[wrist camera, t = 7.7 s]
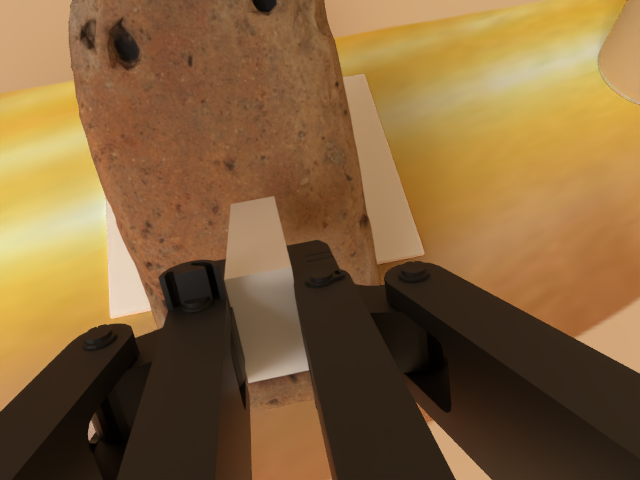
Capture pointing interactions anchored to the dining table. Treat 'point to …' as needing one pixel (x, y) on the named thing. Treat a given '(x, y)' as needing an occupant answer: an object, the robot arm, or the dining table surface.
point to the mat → (379, 192)
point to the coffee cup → (623, 54)
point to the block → (220, 134)
